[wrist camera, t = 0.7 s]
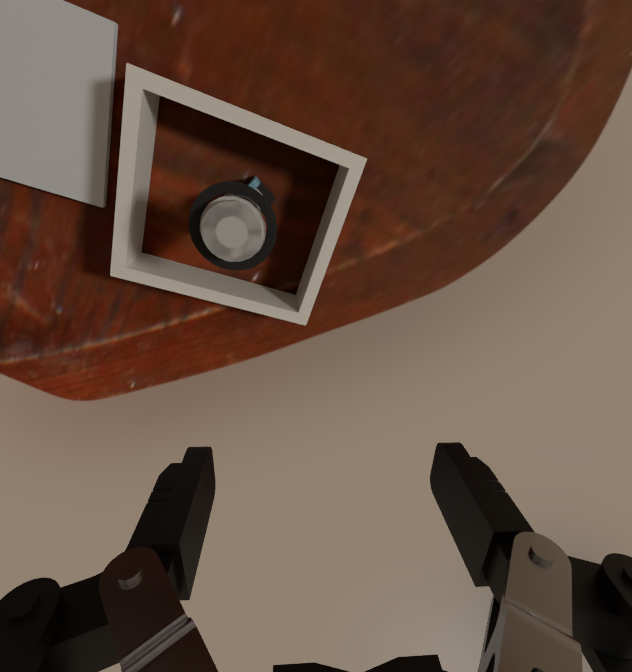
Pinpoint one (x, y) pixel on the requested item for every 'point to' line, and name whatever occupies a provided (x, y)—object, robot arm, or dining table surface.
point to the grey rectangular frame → (195, 281)
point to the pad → (56, 97)
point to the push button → (234, 224)
